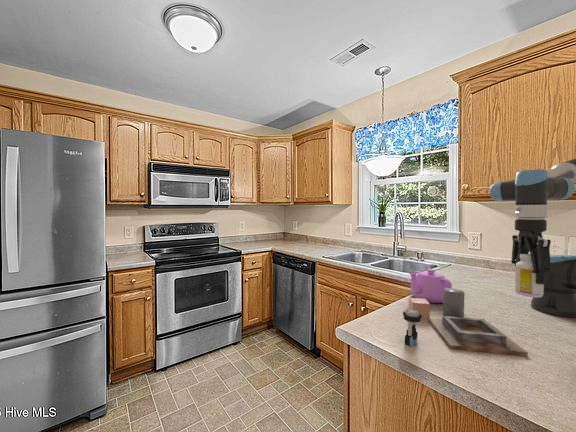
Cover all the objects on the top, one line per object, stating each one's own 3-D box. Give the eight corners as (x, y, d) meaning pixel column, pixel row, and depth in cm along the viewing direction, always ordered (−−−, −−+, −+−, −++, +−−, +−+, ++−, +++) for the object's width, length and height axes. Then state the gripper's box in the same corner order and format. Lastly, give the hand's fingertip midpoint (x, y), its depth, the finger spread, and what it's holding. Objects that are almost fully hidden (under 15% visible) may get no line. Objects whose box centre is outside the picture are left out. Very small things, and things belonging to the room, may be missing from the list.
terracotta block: (424, 313, 106) (425, 298, 106) (429, 319, 101) (429, 303, 100) (408, 312, 108) (409, 297, 107) (412, 318, 102) (412, 302, 102)
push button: (408, 335, 87) (408, 305, 87) (425, 341, 84) (425, 310, 83) (399, 342, 83) (399, 311, 82) (417, 349, 79) (417, 316, 79)
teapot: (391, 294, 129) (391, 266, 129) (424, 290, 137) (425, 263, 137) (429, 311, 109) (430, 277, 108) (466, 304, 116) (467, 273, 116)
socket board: (489, 325, 95) (489, 315, 95) (527, 356, 75) (527, 343, 75) (428, 321, 99) (428, 311, 99) (450, 348, 79) (450, 336, 79)
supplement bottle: (548, 298, 81) (549, 257, 81) (523, 297, 83) (524, 256, 82) (533, 292, 88) (534, 253, 88) (510, 291, 89) (511, 253, 89)
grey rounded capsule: (459, 313, 106) (459, 288, 106) (467, 320, 99) (467, 294, 99) (440, 312, 108) (440, 287, 107) (446, 319, 101) (447, 293, 101)
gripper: (499, 217, 95) (498, 281, 96) (539, 220, 76) (537, 299, 76) (523, 217, 94) (522, 282, 94) (570, 220, 74) (568, 301, 75)
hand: (529, 289), depth 85 cm, fingers closed on supplement bottle, 7 cm apart
